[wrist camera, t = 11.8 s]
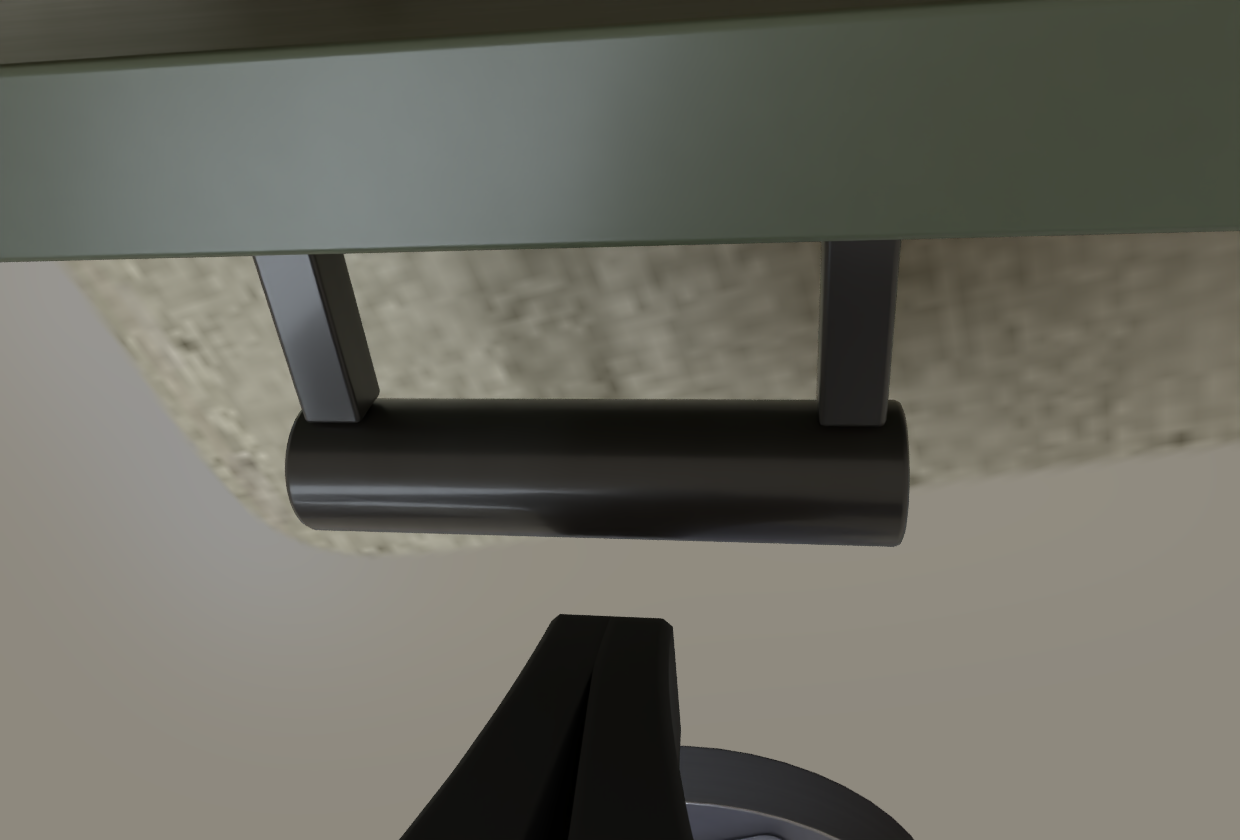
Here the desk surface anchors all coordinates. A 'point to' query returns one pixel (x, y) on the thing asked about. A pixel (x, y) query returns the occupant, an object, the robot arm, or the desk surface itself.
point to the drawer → (605, 206)
